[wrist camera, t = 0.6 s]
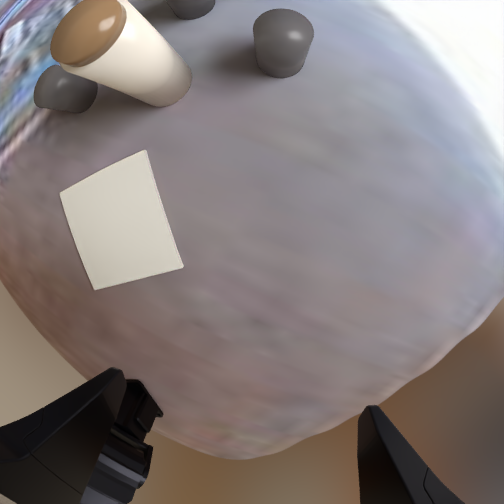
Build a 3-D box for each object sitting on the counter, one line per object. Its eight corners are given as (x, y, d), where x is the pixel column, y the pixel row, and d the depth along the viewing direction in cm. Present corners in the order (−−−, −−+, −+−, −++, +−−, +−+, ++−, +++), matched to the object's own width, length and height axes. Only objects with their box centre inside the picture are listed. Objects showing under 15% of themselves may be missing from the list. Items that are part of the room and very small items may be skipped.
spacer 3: (264, 82, 17) (262, 58, 13) (250, 44, 16) (246, 14, 12) (310, 73, 17) (322, 48, 12) (295, 36, 16) (302, 5, 11)
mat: (96, 288, 23) (94, 290, 23) (62, 192, 21) (59, 193, 20) (183, 266, 22) (182, 268, 22) (146, 150, 19) (144, 149, 19)
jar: (146, 115, 18) (47, 86, 7) (136, 71, 17) (46, 23, 6) (197, 94, 18) (128, 33, 7) (185, 50, 16) (119, -25, 6)
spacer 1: (71, 119, 18) (35, 116, 14) (66, 89, 17) (32, 81, 13) (100, 101, 18) (65, 92, 13) (94, 70, 17) (62, 56, 12)
